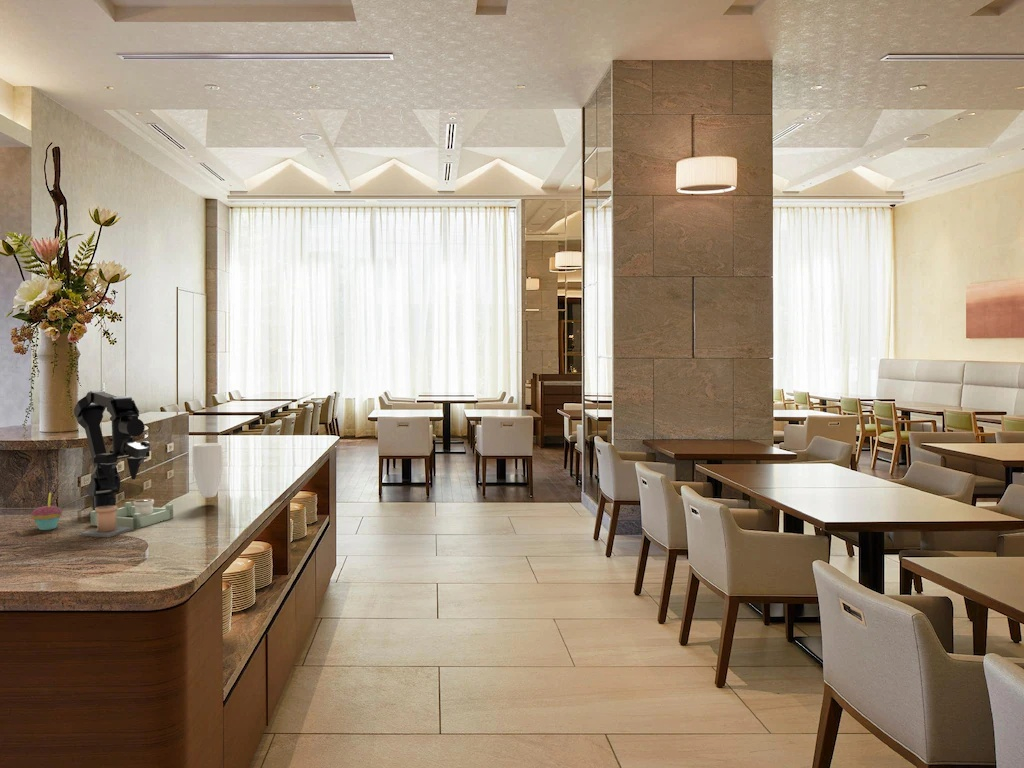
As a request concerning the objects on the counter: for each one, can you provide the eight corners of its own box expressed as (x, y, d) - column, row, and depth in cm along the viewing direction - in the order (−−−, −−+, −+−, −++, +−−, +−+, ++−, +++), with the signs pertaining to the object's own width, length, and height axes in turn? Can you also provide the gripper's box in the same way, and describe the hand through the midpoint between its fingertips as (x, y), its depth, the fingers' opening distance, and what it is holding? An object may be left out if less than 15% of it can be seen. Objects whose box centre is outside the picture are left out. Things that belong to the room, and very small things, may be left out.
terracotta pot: (91, 531, 239) (90, 508, 239) (106, 527, 245) (105, 504, 244) (107, 532, 237) (106, 508, 237) (122, 528, 243) (121, 505, 243)
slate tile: (80, 535, 238) (80, 532, 238) (106, 528, 247) (106, 525, 247) (107, 537, 235) (107, 534, 235) (132, 529, 244) (132, 527, 244)
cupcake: (69, 526, 250) (67, 488, 249) (45, 532, 242) (43, 493, 241) (48, 524, 253) (47, 487, 252) (24, 530, 245) (22, 491, 244)
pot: (129, 523, 253) (129, 501, 253) (143, 519, 259) (142, 498, 259) (145, 524, 251) (144, 502, 251) (158, 520, 257) (158, 499, 257)
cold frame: (90, 525, 251) (90, 511, 251) (128, 514, 267) (128, 501, 266) (137, 528, 246) (137, 514, 246) (173, 517, 262) (172, 504, 261)
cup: (186, 506, 281) (185, 445, 280) (208, 500, 290) (206, 442, 289) (209, 508, 277) (208, 446, 276) (230, 502, 286) (229, 443, 285)
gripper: (120, 438, 250) (121, 487, 250) (162, 432, 268) (163, 478, 268) (91, 437, 253) (93, 486, 254) (135, 431, 271) (136, 476, 271)
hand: (123, 481), depth 262 cm, fingers open, 9 cm apart
